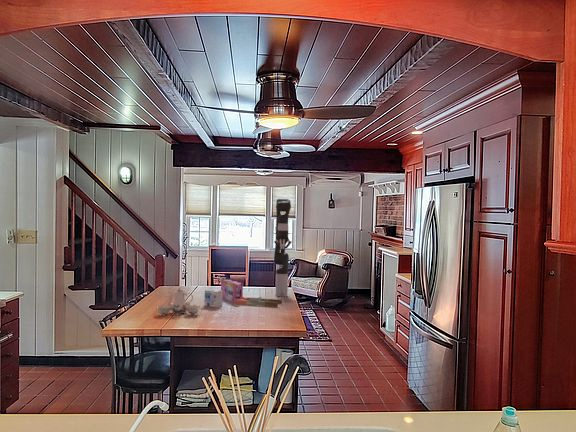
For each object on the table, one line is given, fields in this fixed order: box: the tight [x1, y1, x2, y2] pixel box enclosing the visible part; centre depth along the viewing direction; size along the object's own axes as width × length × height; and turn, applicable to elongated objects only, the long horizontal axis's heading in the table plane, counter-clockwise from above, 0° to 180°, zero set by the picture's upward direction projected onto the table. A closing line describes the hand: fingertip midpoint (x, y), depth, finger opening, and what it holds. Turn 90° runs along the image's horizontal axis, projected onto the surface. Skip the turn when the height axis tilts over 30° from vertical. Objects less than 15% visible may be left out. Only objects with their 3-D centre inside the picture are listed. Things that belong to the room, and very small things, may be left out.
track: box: [233, 297, 283, 309], centre depth 316 cm, size 14×31×4 cm, turn 75°
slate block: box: [249, 295, 262, 301], centre depth 316 cm, size 6×6×5 cm
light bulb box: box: [204, 288, 223, 308], centre depth 313 cm, size 11×7×11 cm, turn 62°
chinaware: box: [155, 287, 203, 316], centre depth 287 cm, size 28×17×17 cm, turn 103°
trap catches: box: [234, 296, 250, 306], centre depth 319 cm, size 11×8×3 cm
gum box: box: [220, 278, 244, 303], centre depth 337 cm, size 24×8×14 cm, turn 32°
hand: (282, 254), depth 325 cm, fingers closed
